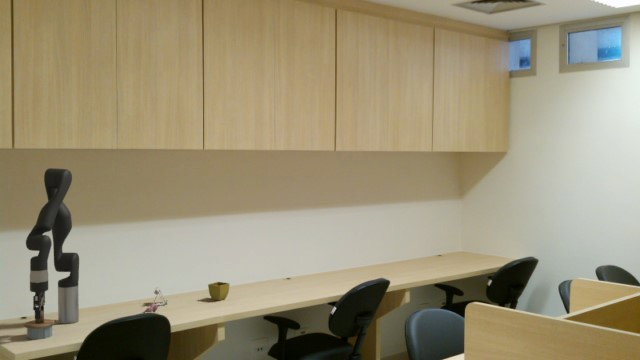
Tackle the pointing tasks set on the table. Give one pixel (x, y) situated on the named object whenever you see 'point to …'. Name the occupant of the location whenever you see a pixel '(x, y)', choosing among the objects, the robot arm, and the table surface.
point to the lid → (39, 322)
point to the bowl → (39, 333)
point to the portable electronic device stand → (160, 295)
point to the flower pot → (218, 290)
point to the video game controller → (151, 308)
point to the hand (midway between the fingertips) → (39, 316)
